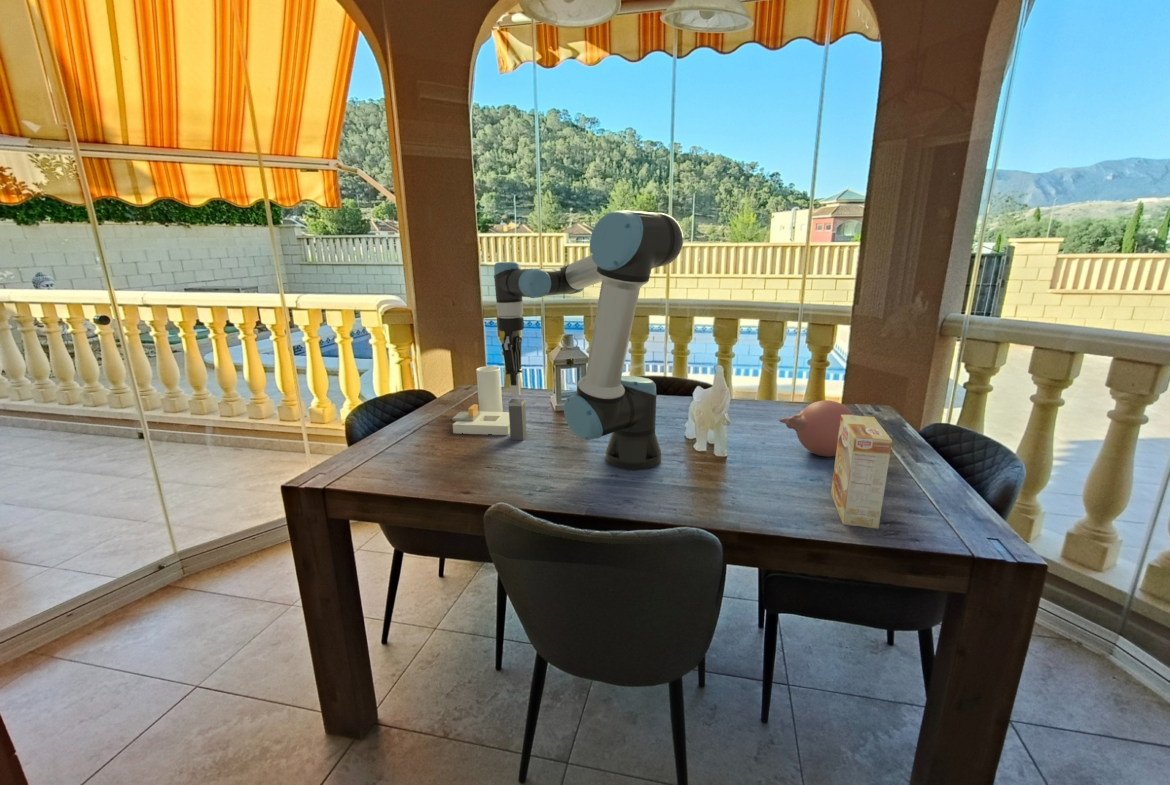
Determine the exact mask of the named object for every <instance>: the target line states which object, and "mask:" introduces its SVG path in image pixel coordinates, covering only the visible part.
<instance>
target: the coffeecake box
mask: <svg viewBox="0 0 1170 785" xmlns="http://www.w3.org/2000/svg"><path fill="white" fill-rule="evenodd" d="M892 445H893V439H892V438H891V437H890V436H889V434H888V433H887V432H886V431H885V429H884V428H883V427H882V425H881V424H880V423H879V422H878V420H877V419H876V417H874V416H867V415H866V416H864V415H863V416H862V415H855V414H854V415H841V418H840V426H839V434H838V442H837V450H836V456H835V459H834V468H833V474H832V475H833V476H832V482H831V491H830V496H831V498H832V500H833V503H834V505H835V507H836V509H837V513H838V515H839V518H840V521H841V523H842V525H844V526H853V527H861V528H869V529H877V530H878V529H879V528H880V522H881V515H882V509H883V502H884V495H885V491H886V490H885V489H886V483H887V477H888V471H889V465H890V464H889V463H890V458H891V453H892V452H891V451H892Z"/></svg>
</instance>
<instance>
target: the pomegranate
mask: <svg viewBox="0 0 1170 785" xmlns="http://www.w3.org/2000/svg"><path fill="white" fill-rule="evenodd" d="M841 415H855V414H854V413H853V411H852V410H850V409H849V408H848V407H847V406H846V405H844V404H843V403H841V402H838V401H835V400H829V399H828V400H823V399H822V400H818V401H815V402H812V403H810V404H808V405H806V406H805V407H804V408H803V410H800V411H799V412H798V413H796V414H794V415H792V416H790V417H784V418H783V417H782V418H780V419H779V422H780V423H782V424H785V426H786V427H787V428H788V429H790V430H794V431H795V433H796V436H797V438H798V440H799V442H800V444H801V446H803V447H804V448H805V449H806V450H807V451H809V453H812V454H814V455H816V456H818V457H819V456H821V457H828V458H829V457H830V458H831V457H836V450H837V442H838V434H839V426H840V418H841Z"/></svg>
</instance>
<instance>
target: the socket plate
mask: <svg viewBox="0 0 1170 785" xmlns="http://www.w3.org/2000/svg"><path fill="white" fill-rule="evenodd" d="M478 412H480V415H479V416H478V417H477V418H476V419H475V420H474V421H455V422H454V423H452V432H453V433H452V434H460V435H461V434H462V433H463V434H464V435H467V434H468V435H488V434H492V435H494V436H499V435H500V436H509V435H510V421H509V411H502V412H485V411H479V410H478ZM508 434H509V435H508Z"/></svg>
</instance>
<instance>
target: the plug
mask: <svg viewBox="0 0 1170 785" xmlns="http://www.w3.org/2000/svg"><path fill="white" fill-rule="evenodd" d="M507 406H508V412H509V421H510V433H509V435H510V441H524V440H525V439H526V438H527V421H526V420H527V417H526V399H525V398H511V399H510V400H509V401H508V403H507Z"/></svg>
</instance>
